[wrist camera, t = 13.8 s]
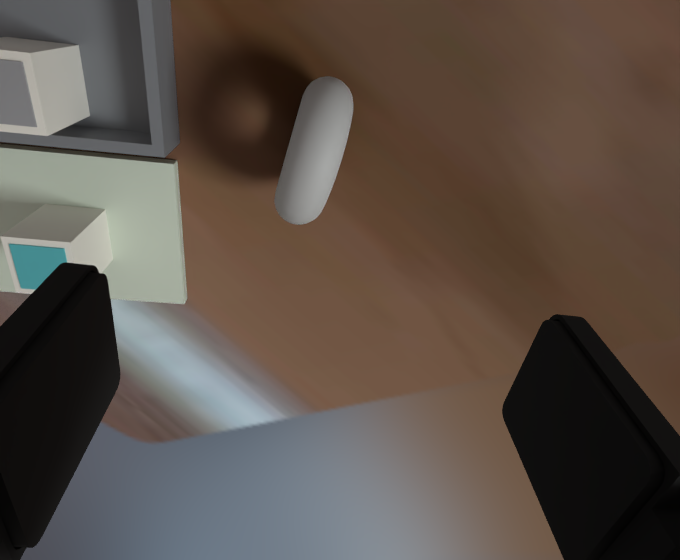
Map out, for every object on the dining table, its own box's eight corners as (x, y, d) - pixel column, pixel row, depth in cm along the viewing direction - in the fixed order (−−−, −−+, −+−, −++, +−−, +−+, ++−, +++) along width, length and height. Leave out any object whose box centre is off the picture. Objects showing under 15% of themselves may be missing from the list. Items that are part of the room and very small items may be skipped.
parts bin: (-135, -154, 26) (-204, -178, 23) (162, -111, 28) (140, -127, 24) (-50, 120, 34) (-91, 133, 31) (180, 142, 35) (164, 157, 32)
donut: (310, 59, 33) (307, 79, 24) (356, 76, 33) (368, 101, 25) (275, 187, 38) (261, 241, 29) (315, 200, 38) (314, 256, 30)
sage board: (-39, 139, 35) (-49, 143, 34) (177, 160, 36) (173, 164, 35) (5, 285, 41) (-1, 291, 40) (187, 298, 43) (184, 304, 42)
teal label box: (45, 203, 36) (-1, 236, 31) (105, 209, 37) (69, 243, 32) (56, 254, 39) (15, 293, 34) (113, 259, 39) (80, 298, 34)
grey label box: (6, 36, 30) (-59, 43, 25) (78, 45, 31) (28, 53, 26) (23, 108, 33) (-34, 128, 28) (90, 115, 33) (46, 136, 28)
